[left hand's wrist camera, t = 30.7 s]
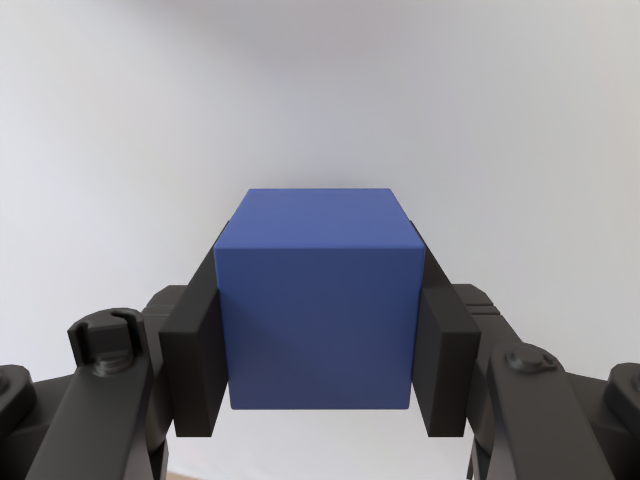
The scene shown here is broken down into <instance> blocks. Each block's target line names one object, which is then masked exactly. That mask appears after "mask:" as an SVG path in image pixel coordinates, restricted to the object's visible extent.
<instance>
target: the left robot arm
mask: <svg viewBox="0 0 640 480" xmlns="http://www.w3.org/2000/svg"><path fill="white" fill-rule="evenodd" d="M410 222H411V224H412V225H413V227H414V229H415V230H416V232H417V233H418V235H419V237H420V238H421V240H422V242H423V243H424V245H425V247H426V249H425V258H424V268H423V278H422V287H421V295H420V304H419V314H418V324H417V333H416V343H415V352H414V362H413V371H412V384H413V387H414V390H415V394H416V397H417V400H418V404H419V407H420V410H421V414H422V417H423V420H424V424H425V427H426V430H427V434H428V437H463V435H464V429H465V424H466V418H467V419H468V421H469V423H470V425H471V428H472V430H473V432H474V440H473V445H472V450H471V455H470V461H469V466H468V472H467V478H466V479H469V480H472V477H473V472H474V480H640V364H637V363H623V364H617V365H616V366H615V367H613V368H612V369H611V372H610V375H609V378H608V381H605V380H600V379H595V378H590V377H585V376H580V375H575V374H572V373H568V372H565V370H564V368H563V366H562V365H561V363H560V362H559V361H558V360H557V358H556V357H554V356H553V355H551V354H550V353H549V352H547V351H546V350H544V349H541V348H539V347H537V346H534V345H532V344H527V343H523V342H522V341H521V339H520V338H519V337H518V336H517V334H516V333H515V332H514V330H513V329H512V328H511V326H510V325H509V324H508V322H507V321H506V320H505V318H504V317H503V316H502V315H500V312H499V311H498V309H497V308H496V307H495V306H494V305H493V303H492V301H491V300H490V299H489V297H488V296H487V295H486V293H484V292H483V291H481V290H479V289H478V288H476V287H475V286H473V285H472V284H451V283H450V281H449V280H448V278H447V276H446V275H445V273H444V272H443V270H442V269H441V267H440V265H439V264H438V262H437V261H436V259H435V257H434V256H433V254H432V253H431V251H430V250H429V248H428V246H427V245H426V243H425V242H424V240H423V238H422V237H421V235H420V234H419V232H418V230H417V229H416V227H415V226H414V224H413V223H412V221H410ZM228 223H229V221H228V222H227V224H228ZM227 224H226V225H225V227H224V228H223V230H222V232H223V231H224V229H225V228H226V226H227ZM222 232H221V233H220V235H219V236H218V238H217V240H218V239H219V237H220V236H221V234H222ZM217 240H216V241H215V243H214V244H213V246H212V247H211V249H210V251H209V252H208V254H207V255H206V257H205V259H204V260H203V262H202V263H201V265H200V266H199V268H198V270H197V271H196V273H195V274H194V276H193V278H192V279H191V281H190V282H189V284H188V285H169V286H167V287H166V288H164V289H163V290H161V291H159V292H158V293H156V294H155V295H154V296H153V297H152V299H151V300H150V301H149V303H148V304H147V305H146V308H144V309H143V311H142V312H141V313H140V312H139V311H137V310H134V309H130V308H111V309H107V310H102V311H98V312H95V313H93V314H90V315H87V316H85V317H83V318H82V319H80V320H79V321H77V322H75V323H74V324H73V325H72V326H71V327H70V328H69V329H68V331H67V333H68V336H69V340H70V343H71V347H72V351H73V354H74V358H75V361H76V365H77V368H76V371H75V373H74V374H71V375H68V376H64V377H59V378H54V379H49V380H44V381H39V382H35V383H33V382H32V379H31V376H30V373H29V371H28V370H27V369H26V368H24V367H23V366H18V365H12V364H11V365H3V366H0V480H166V472H167V463H168V455H169V452H168V445H167V440H166V434H167V432H168V429H169V427H170V425H171V422H172V420H174V425H175V431H176V437H211V436H212V433H213V429H214V426H215V423H216V419H217V416H218V413H219V409H220V406H221V403H222V399H223V396H224V393H225V389H226V386H227V383H228V374H227V365H226V356H225V346H224V337H223V328H222V319H221V309H220V300H219V291H218V285H217V276H216V267H215V258H214V245H215V244H216V242H217Z"/></svg>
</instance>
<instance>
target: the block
mask: <svg viewBox="0 0 640 480" xmlns="http://www.w3.org/2000/svg"><path fill="white" fill-rule="evenodd" d="M425 249H426V247H425V245H424V243H423V242H422V240H421V238H420V237H419V235H418V233H417V232H416V230H415V229H414V227H413V225H412V224H411V222H410V220H409V219H408V217H407V216H406V214H405V212H404V211H403V209H402V207H401V206H400V204H399V203H398V201H397V199H396V198H395V196H394V195H393V193H392V191H391V190H390V189H250V190H249V191H248V192H247V194H246V196H245V197H244V199H243V200H242V202H241V204H240V205H239V207H238V208H237V210H236V212H235V213H234V215H233V216H232V218H231V220H230V221H229V223H228V224H227V226H226V228H225V229H224V231H223V232H222V234H221V236H220V237H219V239H218V240H217V242H216V244H215V245H214V258H215V267H216V276H217V285H218V291H219V300H220V309H221V319H222V328H223V337H224V346H225V356H226V365H227V374H228V385H229V395H230V404H231V408H232V409H234V410H294V409H408V408H409V403H410V393H411V384H412V371H413V362H414V352H415V343H416V333H417V324H418V314H419V304H420V295H421V287H422V278H423V268H424V258H425Z"/></svg>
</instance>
